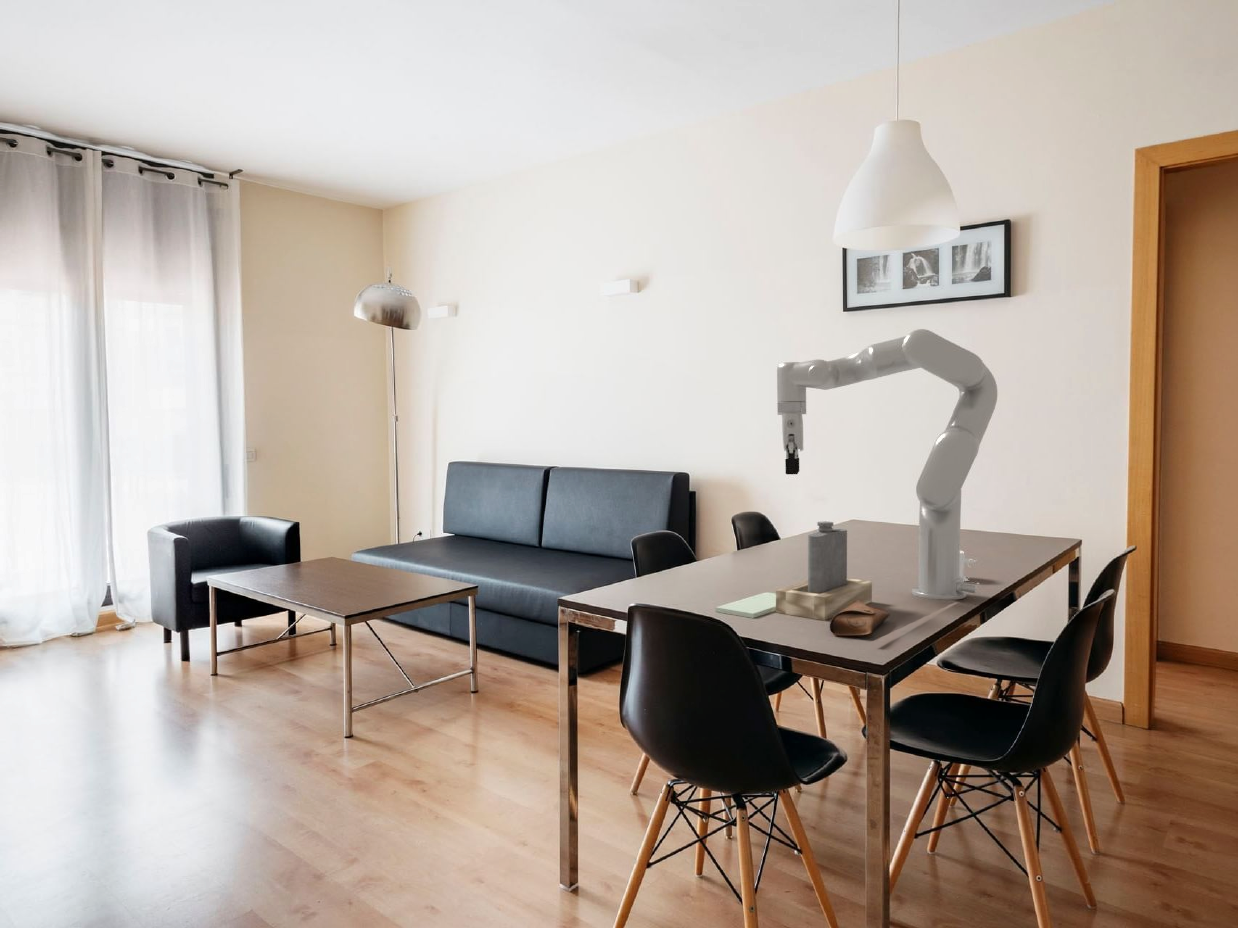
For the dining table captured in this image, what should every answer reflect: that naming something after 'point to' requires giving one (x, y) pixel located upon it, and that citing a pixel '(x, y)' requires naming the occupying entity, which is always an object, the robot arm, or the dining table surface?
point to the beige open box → (822, 599)
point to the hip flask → (827, 558)
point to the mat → (750, 606)
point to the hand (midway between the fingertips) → (792, 473)
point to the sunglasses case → (857, 620)
